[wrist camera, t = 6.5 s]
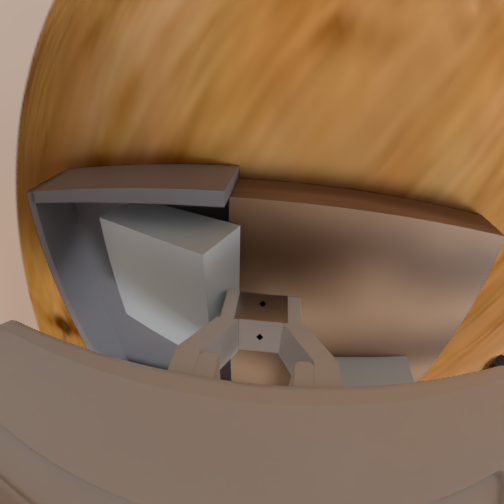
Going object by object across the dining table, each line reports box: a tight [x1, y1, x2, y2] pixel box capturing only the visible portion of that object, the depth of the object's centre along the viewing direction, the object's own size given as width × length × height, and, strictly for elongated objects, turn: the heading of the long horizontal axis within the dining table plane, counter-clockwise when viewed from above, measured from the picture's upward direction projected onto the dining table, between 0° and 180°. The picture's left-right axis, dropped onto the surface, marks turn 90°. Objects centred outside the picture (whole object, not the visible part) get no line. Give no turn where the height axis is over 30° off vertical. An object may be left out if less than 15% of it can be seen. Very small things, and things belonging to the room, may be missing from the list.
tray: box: [27, 164, 239, 381], centre depth 15 cm, size 17×10×4 cm, turn 178°
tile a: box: [99, 203, 240, 345], centre depth 12 cm, size 6×6×2 cm
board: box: [229, 178, 504, 386], centre depth 15 cm, size 16×14×2 cm
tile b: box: [334, 356, 414, 387], centre depth 15 cm, size 6×6×2 cm
